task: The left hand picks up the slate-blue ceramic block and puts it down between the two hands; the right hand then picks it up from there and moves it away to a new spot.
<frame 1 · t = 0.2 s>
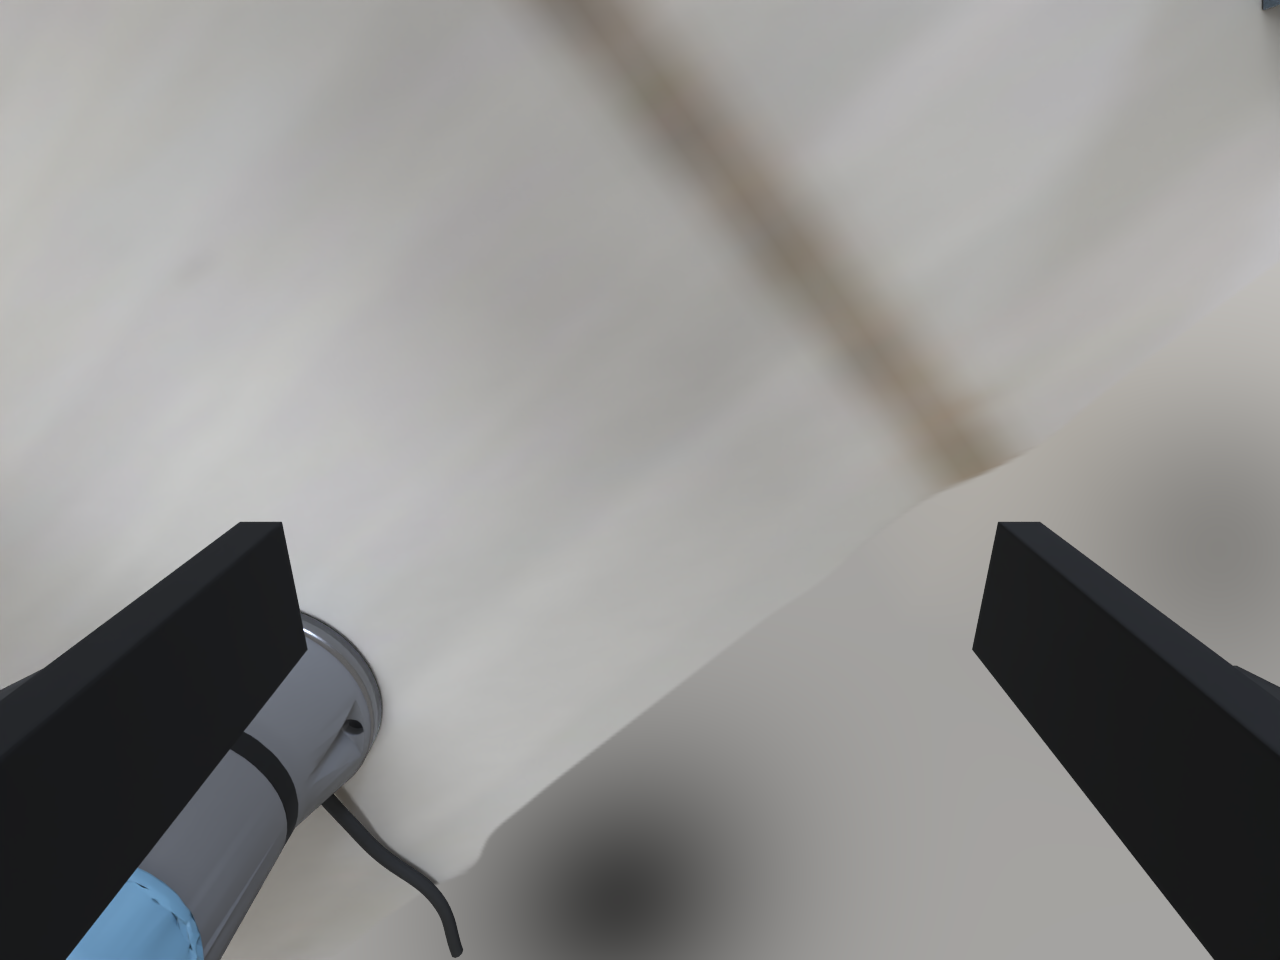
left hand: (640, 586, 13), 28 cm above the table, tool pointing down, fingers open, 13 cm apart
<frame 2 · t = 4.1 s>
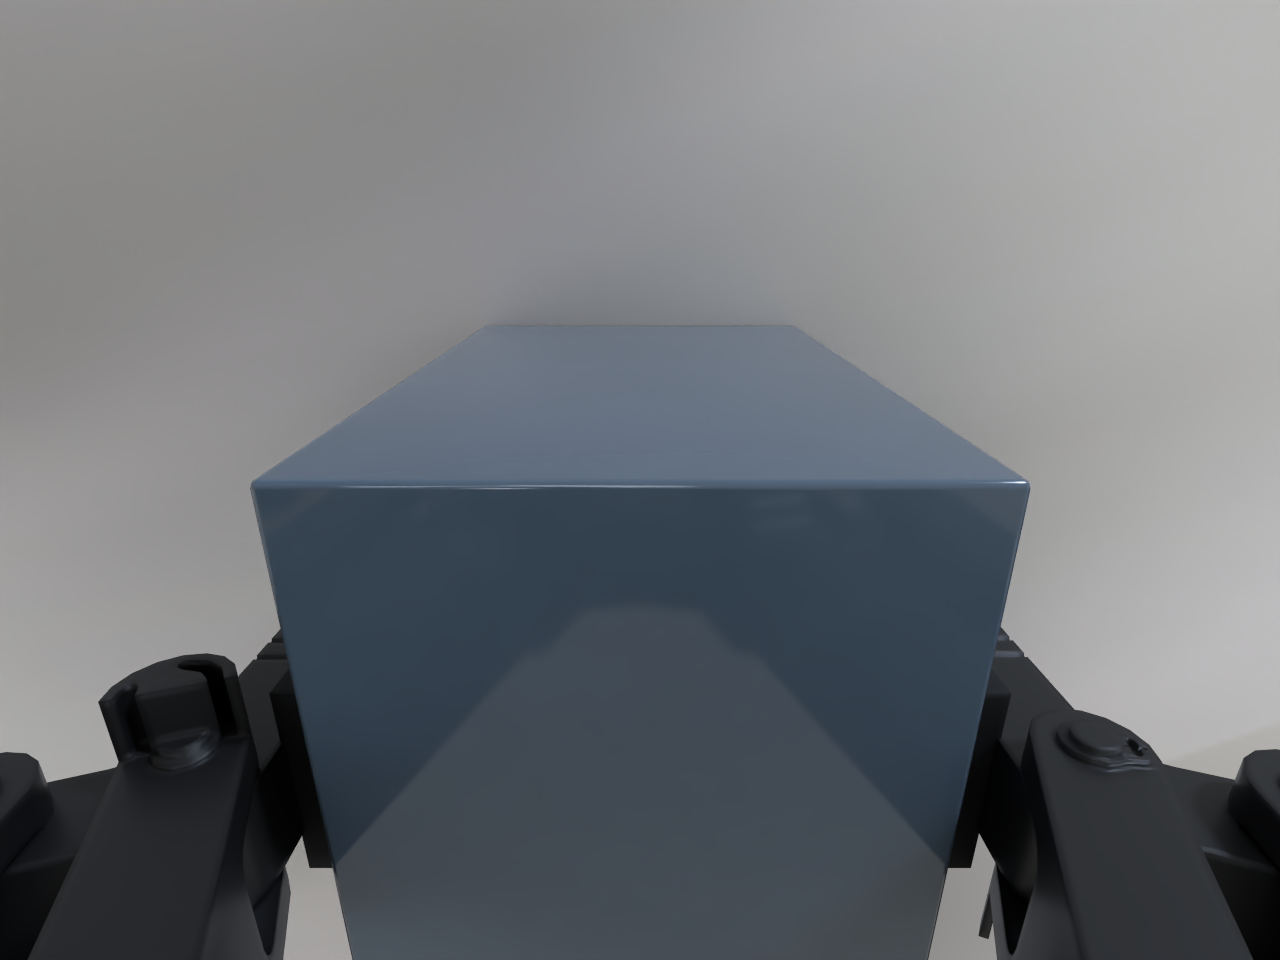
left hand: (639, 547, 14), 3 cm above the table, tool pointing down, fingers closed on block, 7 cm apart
block: (640, 501, 17), on the table, touching left hand
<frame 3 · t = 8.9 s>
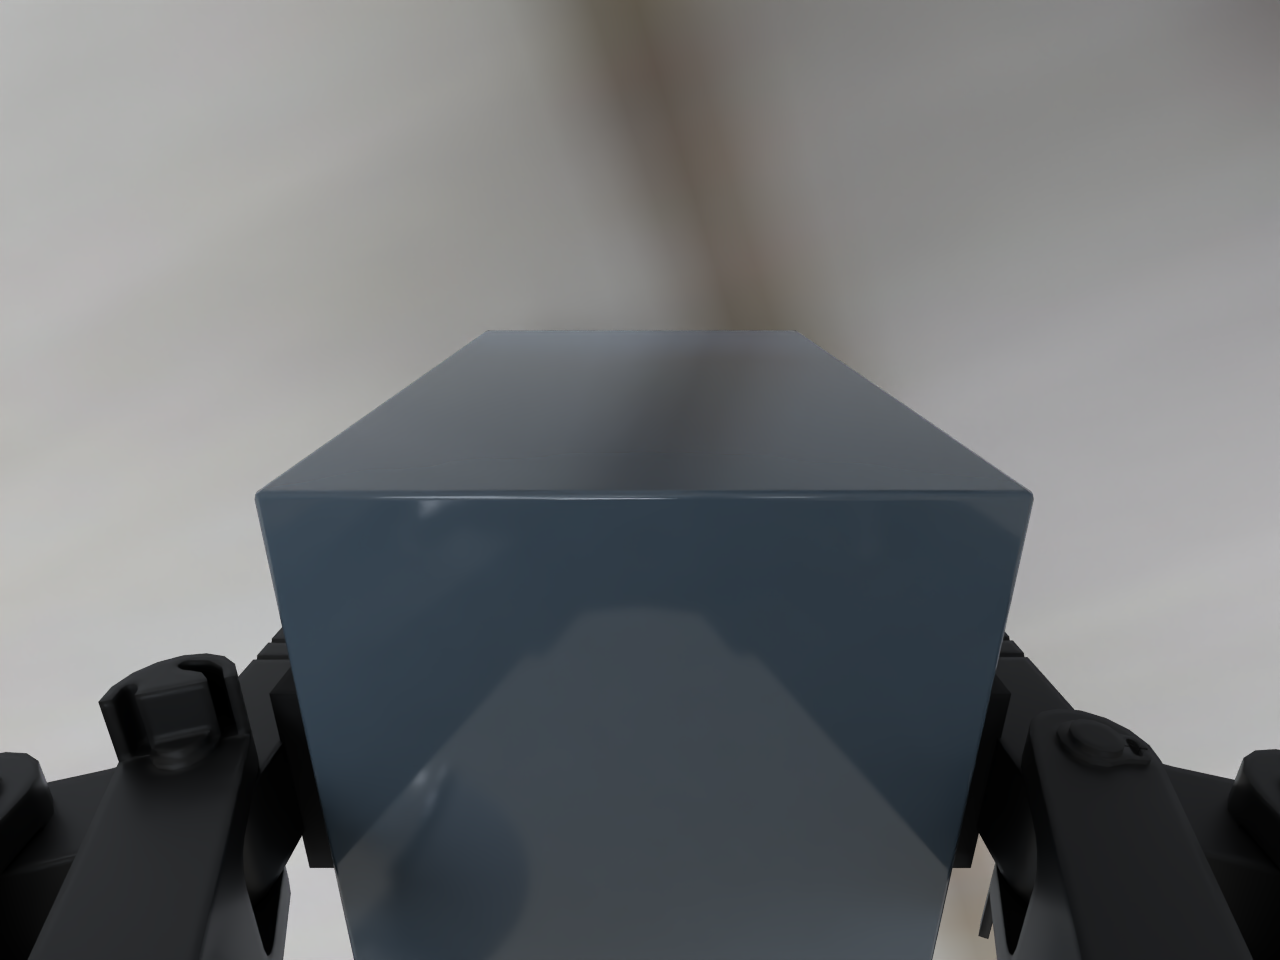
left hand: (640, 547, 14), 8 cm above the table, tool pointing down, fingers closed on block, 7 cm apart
block: (641, 504, 17), point 6 cm above the table, touching left hand
when the left hand's fingers open (4 cm above the table, at t = 14.0 s): block drops 1 cm, on the table.
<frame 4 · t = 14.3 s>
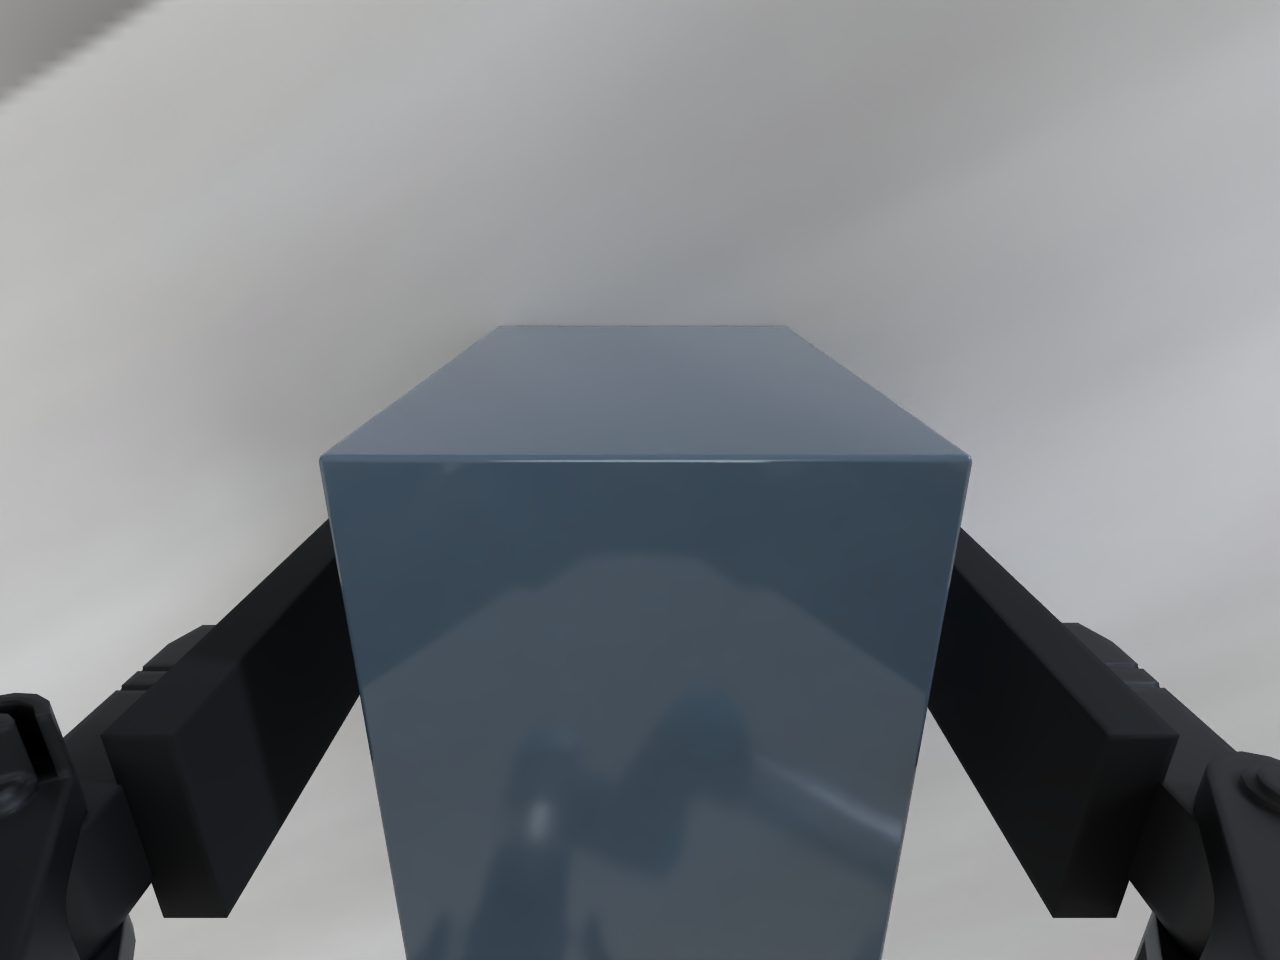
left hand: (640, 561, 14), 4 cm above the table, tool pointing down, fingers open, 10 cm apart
block: (642, 489, 18), on the table
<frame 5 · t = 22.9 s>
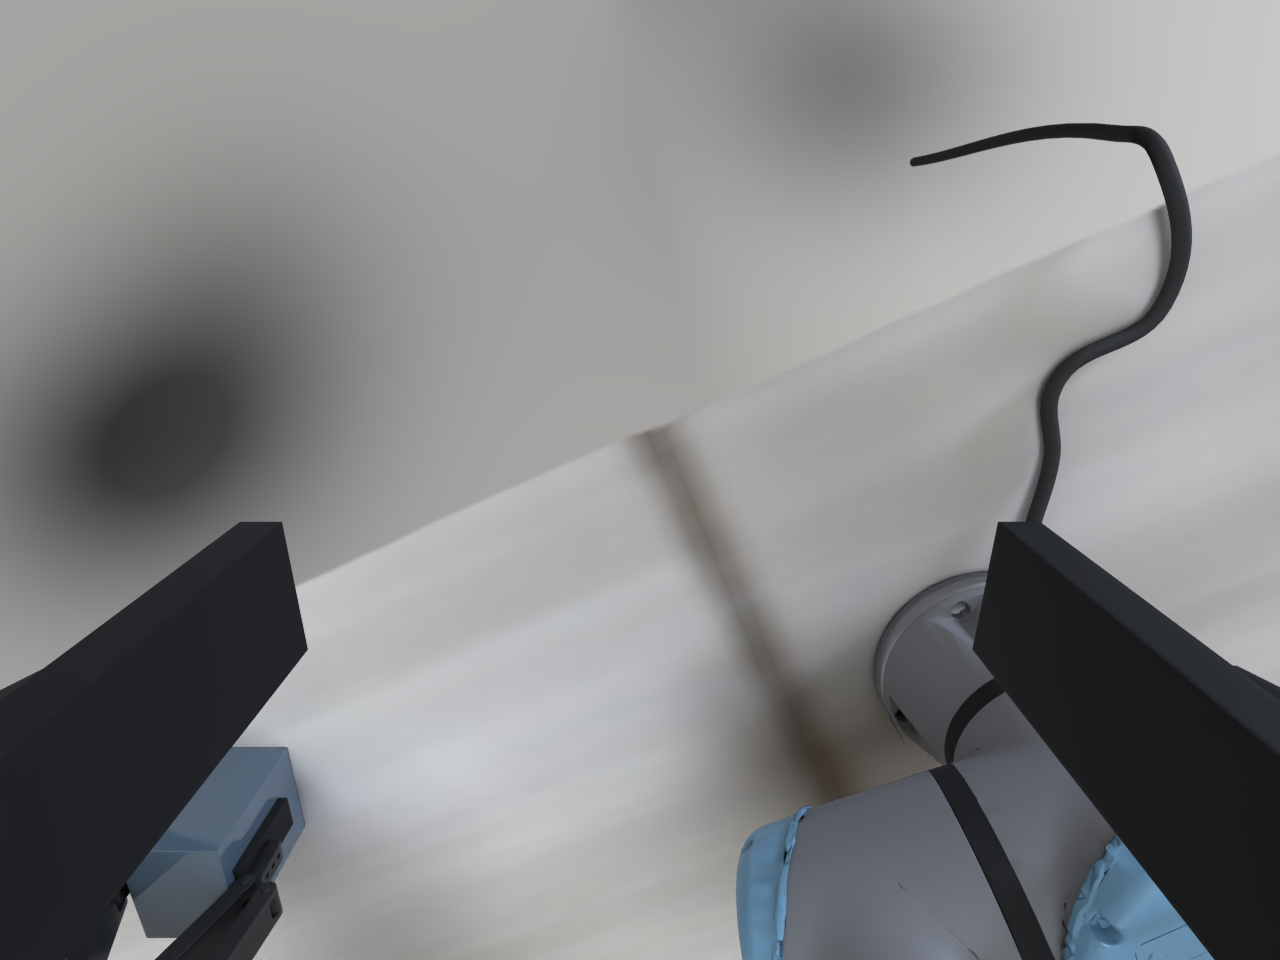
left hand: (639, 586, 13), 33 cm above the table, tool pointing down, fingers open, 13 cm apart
block: (254, 787, 57), on the table, touching right hand
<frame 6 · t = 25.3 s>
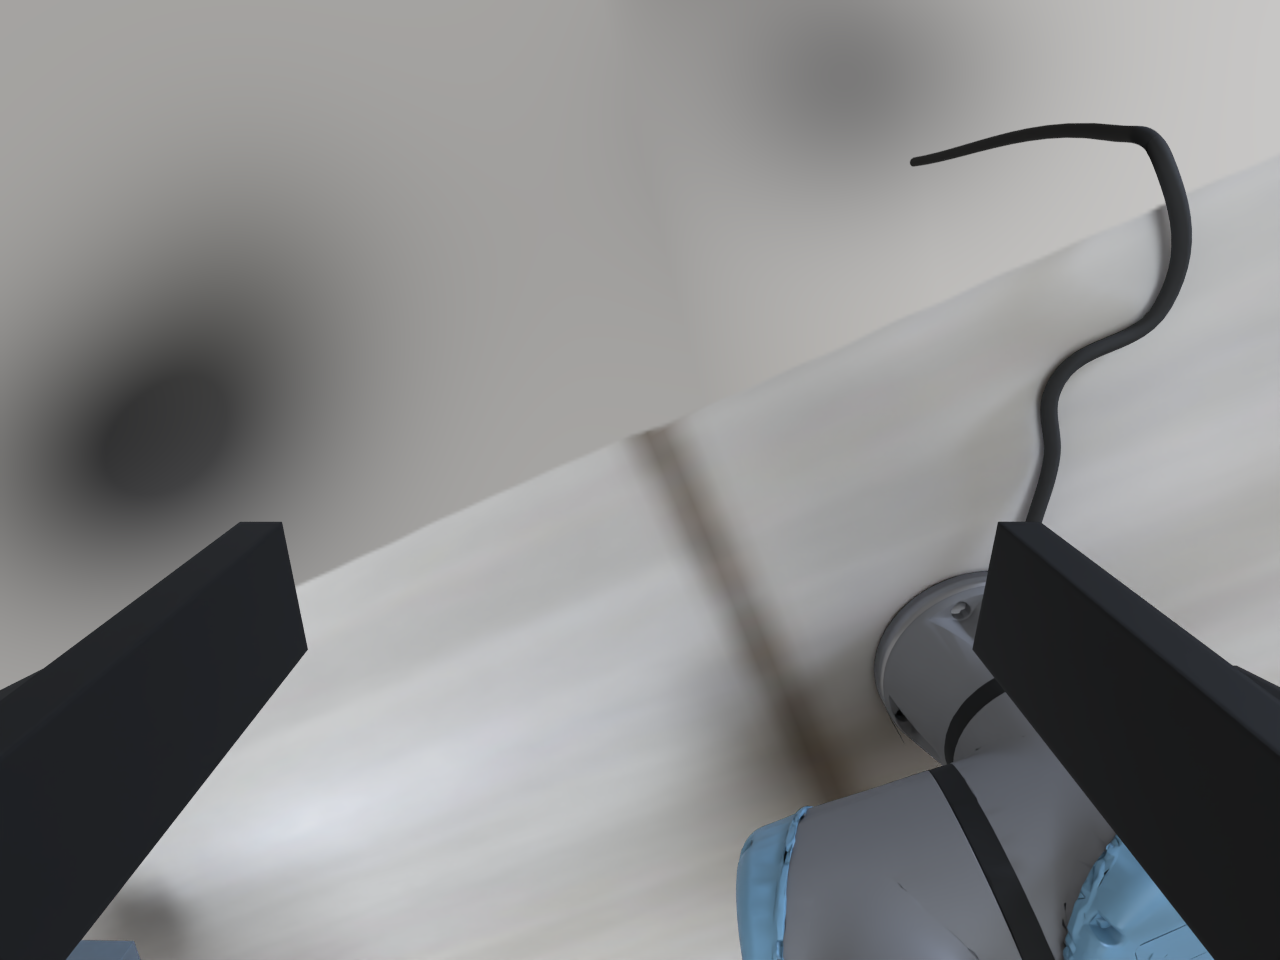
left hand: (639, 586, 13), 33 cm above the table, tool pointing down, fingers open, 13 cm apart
when the right hand's fingers open (4 cm above the table, at t = 28.2 s): block drops 1 cm, on the table.
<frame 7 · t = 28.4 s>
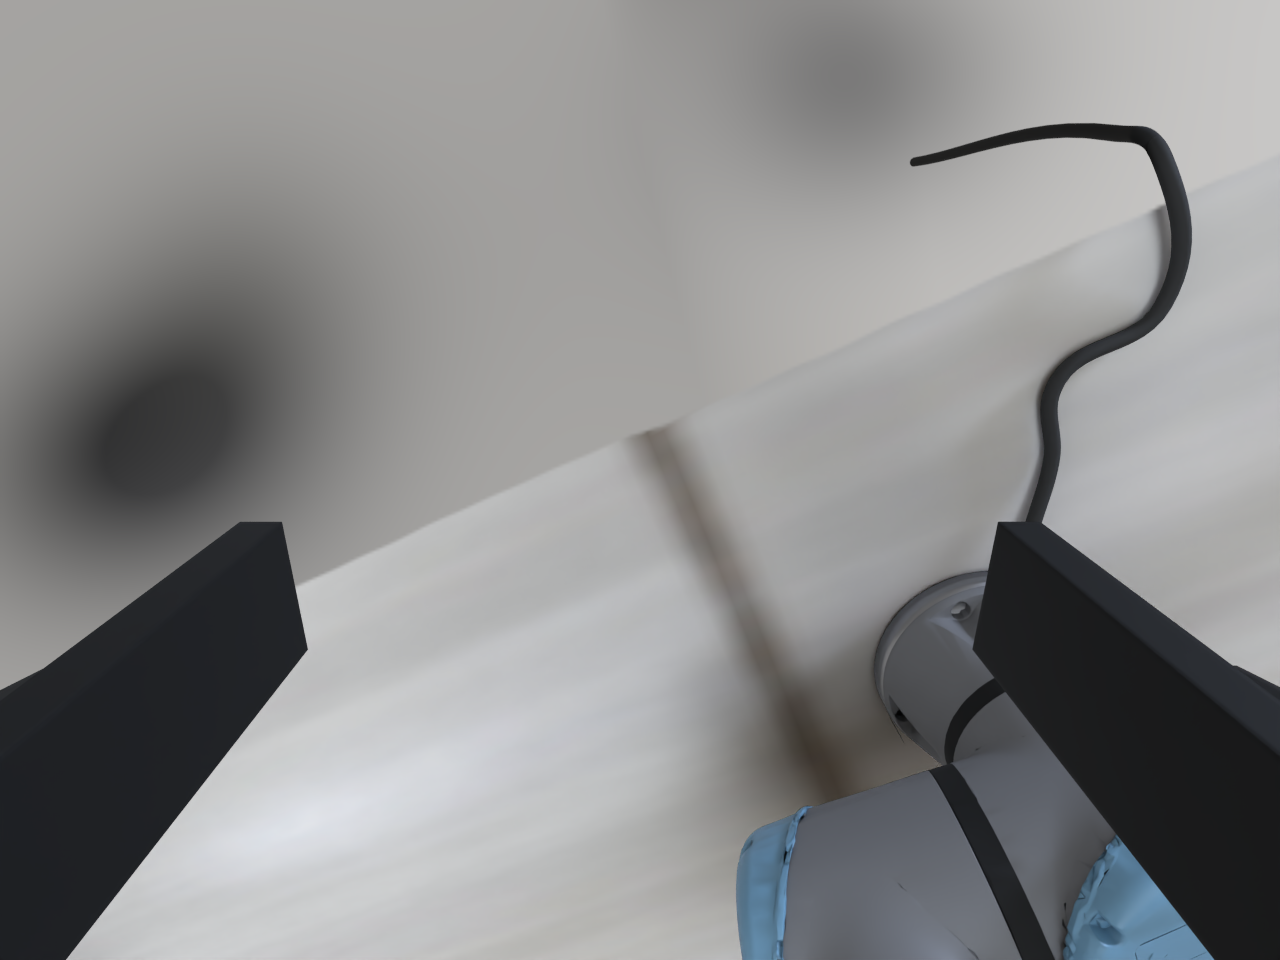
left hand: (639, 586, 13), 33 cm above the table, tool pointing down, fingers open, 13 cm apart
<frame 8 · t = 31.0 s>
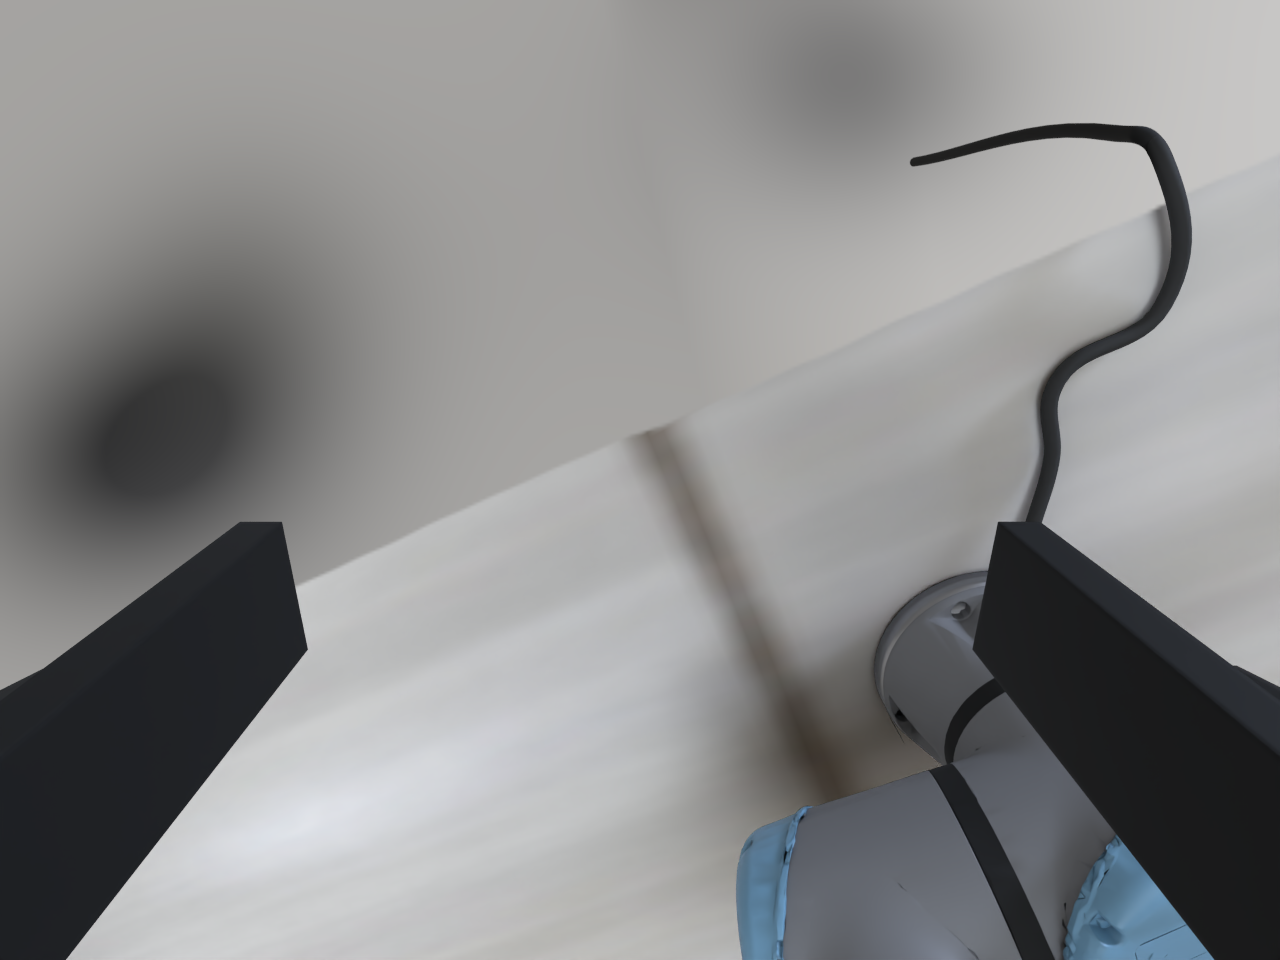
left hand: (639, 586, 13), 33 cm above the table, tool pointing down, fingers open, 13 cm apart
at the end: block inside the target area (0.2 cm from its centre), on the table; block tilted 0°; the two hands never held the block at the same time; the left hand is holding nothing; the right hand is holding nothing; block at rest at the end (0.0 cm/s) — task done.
